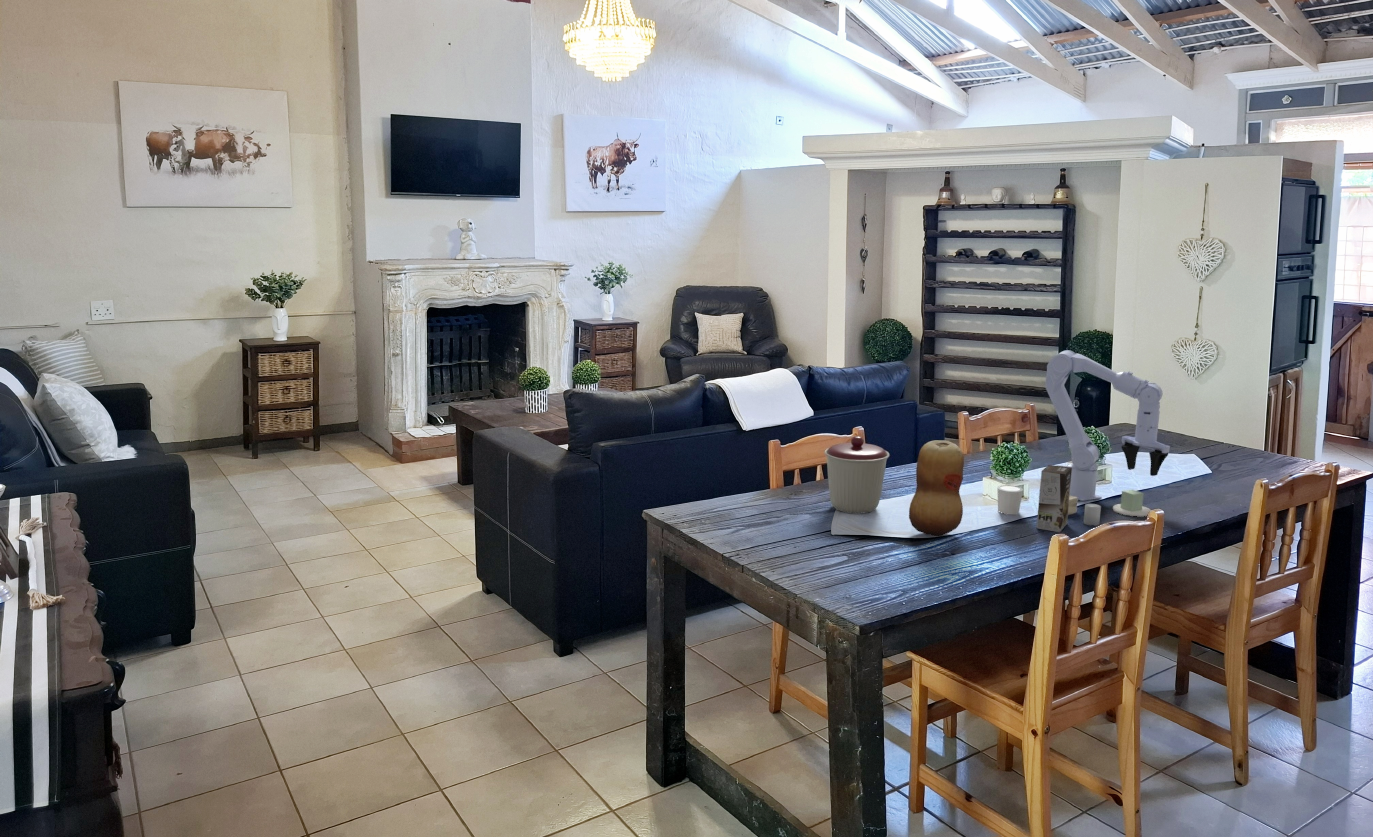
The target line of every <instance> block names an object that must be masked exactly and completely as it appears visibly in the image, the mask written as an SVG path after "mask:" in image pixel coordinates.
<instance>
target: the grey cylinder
mask: <svg viewBox="0 0 1373 837" xmlns="http://www.w3.org/2000/svg"><path fill="white" fill-rule="evenodd" d="M1101 511H1102V506H1101V505H1099V504H1095V503H1085V505H1084V514H1083V524H1084V525H1086V526H1091V525H1094V526H1095V527H1096V526H1100V519H1101Z"/></svg>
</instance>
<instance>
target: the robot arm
mask: <svg viewBox="0 0 1373 837" xmlns="http://www.w3.org/2000/svg"><path fill="white" fill-rule="evenodd" d="M1049 360H1050V361H1049V362H1048V363H1047V365H1046V374H1045V382H1044V386H1045V390H1046V392H1047V394H1048V396H1049V398H1050V401H1051V404H1052V405H1053V408H1054V410H1055V413H1056V414H1057V416H1058V419H1059V421H1060V423H1061V426H1062V428H1063V430H1064V433H1065V435H1066V437H1067V439H1068V446H1069V450H1070V453H1071V458H1070V459H1071V464H1068V465H1066V467H1072V473H1071V484H1070V496H1074V497H1078V501H1081V502H1084V501H1090V500H1098V499H1102V496H1101V495H1097V494H1096V489H1097V478H1098V466H1097V464H1096V462H1097V460H1099V458H1100V455H1101V454H1100V449H1099V448H1098V446H1097V445H1095V444H1094V443H1093V441H1092V439H1091V438H1090V437H1089V435H1087V433H1086V431H1085V429H1084V427H1083V425H1082V422H1081V420H1080V418H1079V415H1078V413H1077V411H1076V409H1075V406H1074V405H1073V403H1072V400H1071V398H1070V396H1069V394H1068V390H1067V388H1066V387H1065V384H1066V382H1067V380H1068V378H1069V375H1070V374H1071V373H1081V372H1082V373H1083V372H1084V373H1087V374H1090V375H1092V376H1095V377H1097V378H1099V379H1102V380H1104V381H1106V382H1107V383H1108V382H1109V383H1111V385H1112V387H1113V390H1115V391H1118V392H1120V393H1121V394H1124V395H1126V396H1128V397H1130V398H1133V399H1137V401H1138V408H1137V414H1136V425H1135V432H1134V433H1135V434H1134V436H1129V435H1122V437H1121V444H1123V445H1121V450H1122V452H1123V454H1124V457H1125V460H1126V466H1127V470H1129V471H1131V470H1135V469H1136V465H1137V464H1136V462H1137V457H1138V453H1139V449H1140V448H1144V449H1149V450H1152V451H1149V459H1150V469H1149V470H1150V471H1149V474H1150V476H1152V477H1155V476H1158V473H1159V470H1160V468H1161V466H1162V464H1163V462H1164V461H1165V459H1166V458H1167V457H1168V456H1169V453H1170V450H1171V446H1170V445H1167V444H1164V443H1161V442H1159V441H1157V439H1158V431H1159V424H1160V423H1159V422H1160V408H1161V402H1160V400H1162V398H1163V390H1162V389H1163V388H1161V387H1160V385H1158V384H1157V383H1155V382H1149V380H1147V379H1145V380H1144V379H1141V378H1139V377H1137V376H1136V375H1133V374H1134V373H1133V372H1131V371H1130V370H1129V371H1127V372H1126V371H1124V370H1123V371H1121V372H1116V371H1114V370H1112V369H1111V368H1108V366H1107V367H1106V366H1105V365H1102V364H1101V363H1098V362H1097V361H1095V360H1093V359H1091V358H1089V357H1087V356H1085V355H1083V354H1081V353H1076V352H1074V351H1073V350H1070V349H1069V350H1068V349H1067V350H1063V351H1060V352H1059V353H1056V354H1055V355H1053V356H1052V357H1051V359H1049Z"/></svg>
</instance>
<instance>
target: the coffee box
mask: <svg viewBox="0 0 1373 837" xmlns="http://www.w3.org/2000/svg"><path fill="white" fill-rule="evenodd" d="M1066 466H1067V465H1066ZM1066 466H1065V465H1055V464H1048V465H1047V466H1046V467H1044V468H1043V469H1042V470H1041V471H1040V472H1041V476H1040V485H1039V496H1038V507H1037V509H1038V510H1037V518H1036V529H1039V530H1044V531H1051V532H1055V533H1061V532H1062V530H1063V529H1064V528H1065V527H1066V526H1067V524H1068V519H1069V518H1068V516H1069V515H1068V507H1069V496H1070V484H1071V473H1072V467H1066Z"/></svg>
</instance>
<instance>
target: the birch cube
mask: <svg viewBox="0 0 1373 837" xmlns="http://www.w3.org/2000/svg"><path fill="white" fill-rule="evenodd" d="M1078 501H1079V500H1078V497H1074V496H1069V507H1068V516H1069V515H1074V514H1076V513H1077V509H1078Z"/></svg>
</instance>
